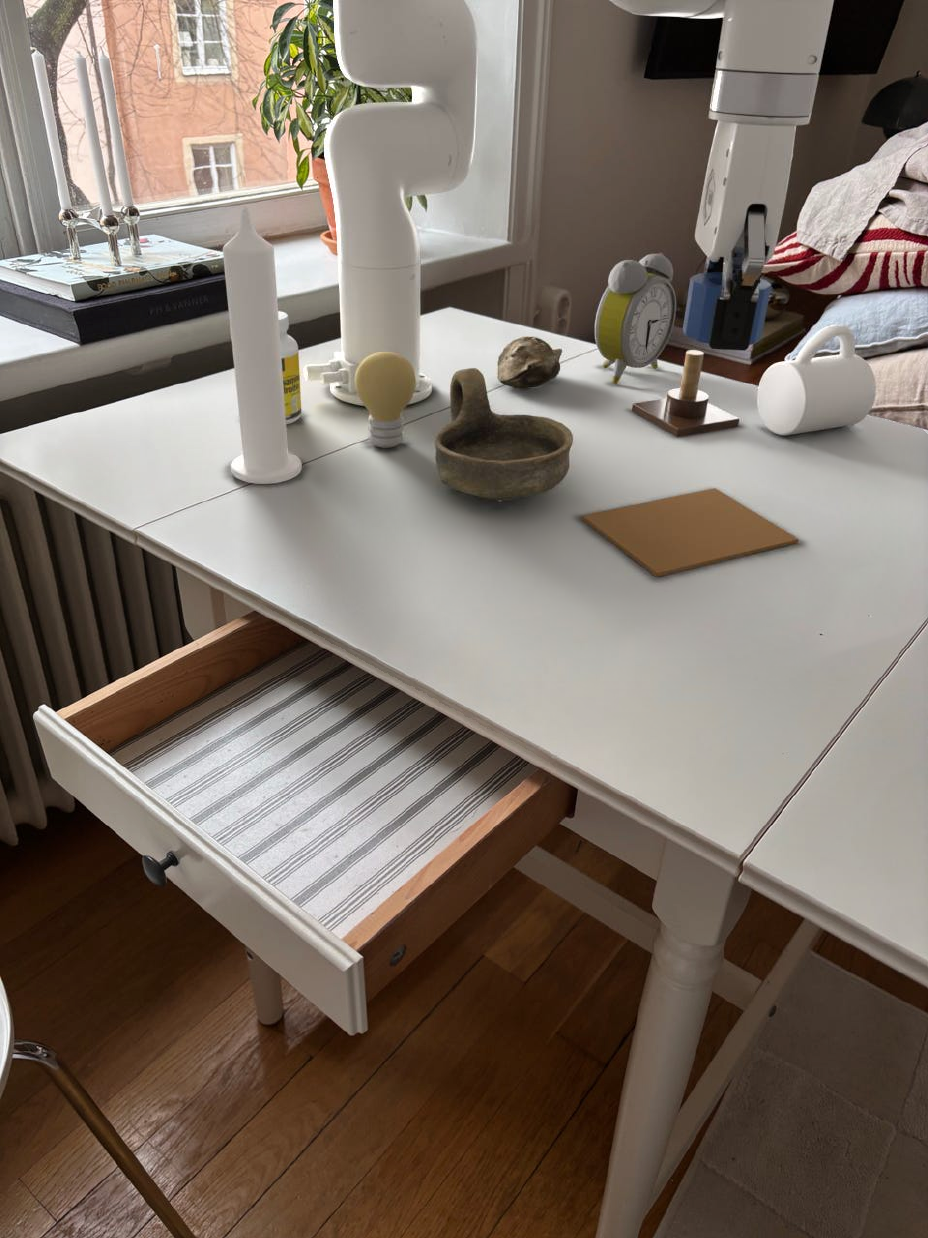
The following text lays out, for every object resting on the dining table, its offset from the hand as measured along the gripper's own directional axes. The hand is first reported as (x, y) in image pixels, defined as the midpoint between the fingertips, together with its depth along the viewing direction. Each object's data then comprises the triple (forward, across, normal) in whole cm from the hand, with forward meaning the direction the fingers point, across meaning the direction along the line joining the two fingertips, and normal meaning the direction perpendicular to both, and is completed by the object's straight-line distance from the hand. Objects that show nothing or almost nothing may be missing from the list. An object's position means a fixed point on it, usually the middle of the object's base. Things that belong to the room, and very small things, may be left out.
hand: (720, 334), depth 82 cm
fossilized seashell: (+18, -38, -15) cm, 44 cm away
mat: (+18, +2, 0) cm, 18 cm away
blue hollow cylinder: (0, 0, 0) cm, 0 cm away
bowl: (+18, -6, -19) cm, 26 cm away
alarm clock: (+18, -44, -2) cm, 47 cm away
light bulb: (+18, -15, -31) cm, 39 cm away
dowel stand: (+18, -27, +3) cm, 33 cm away
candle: (+18, -6, -42) cm, 46 cm away
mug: (+18, -26, +18) cm, 37 cm away
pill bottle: (+18, -21, -45) cm, 52 cm away
